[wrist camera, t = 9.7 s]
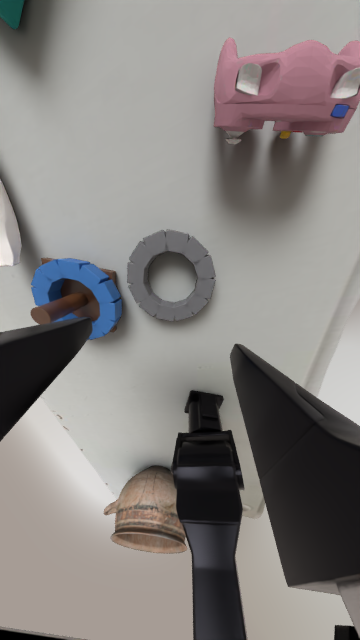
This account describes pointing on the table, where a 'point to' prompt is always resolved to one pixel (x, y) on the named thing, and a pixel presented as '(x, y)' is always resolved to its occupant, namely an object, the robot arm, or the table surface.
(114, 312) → the blue ring
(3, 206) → the toy fish
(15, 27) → the digital multimeter
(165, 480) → the cooking pot
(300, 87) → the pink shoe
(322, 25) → the table surface
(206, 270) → the grey ring
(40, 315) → the peg stand
